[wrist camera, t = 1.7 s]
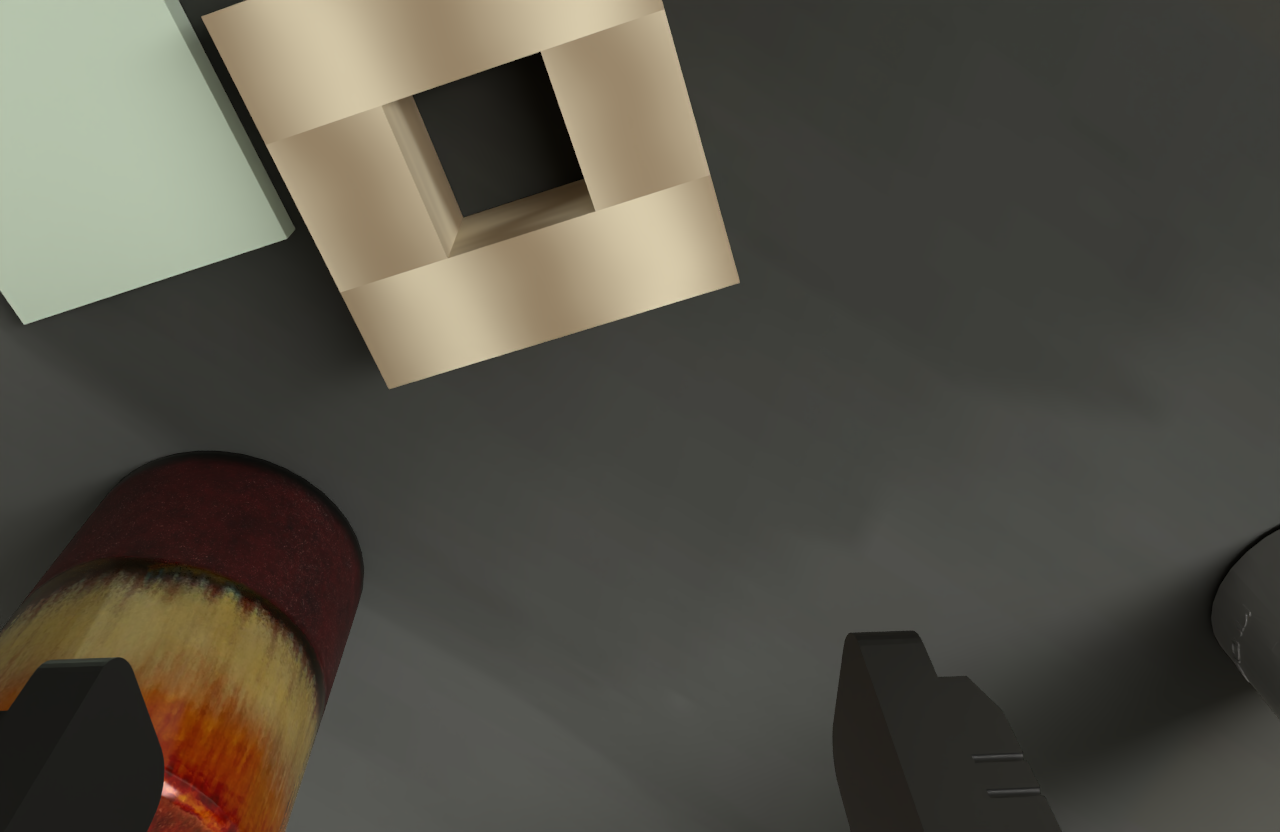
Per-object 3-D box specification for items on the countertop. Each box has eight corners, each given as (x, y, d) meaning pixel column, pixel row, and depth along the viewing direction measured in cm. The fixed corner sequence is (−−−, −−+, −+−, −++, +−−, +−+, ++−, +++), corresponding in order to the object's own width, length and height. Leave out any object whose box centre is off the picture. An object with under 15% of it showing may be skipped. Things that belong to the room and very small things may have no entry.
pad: (135, -84, 28) (120, -83, 27) (295, 228, 33) (287, 238, 32) (-158, 26, 29) (-181, 31, 28) (38, 313, 34) (23, 324, 33)
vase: (127, 408, 36) (-322, 923, 18) (401, 506, 39) (239, 1037, 21) (73, 609, 41) (-326, 1175, 23) (321, 684, 44) (134, 1242, 26)
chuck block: (620, -135, 28) (624, -136, 25) (725, 240, 34) (739, 282, 30) (247, -1, 29) (201, 16, 26) (409, 337, 35) (388, 389, 32)
